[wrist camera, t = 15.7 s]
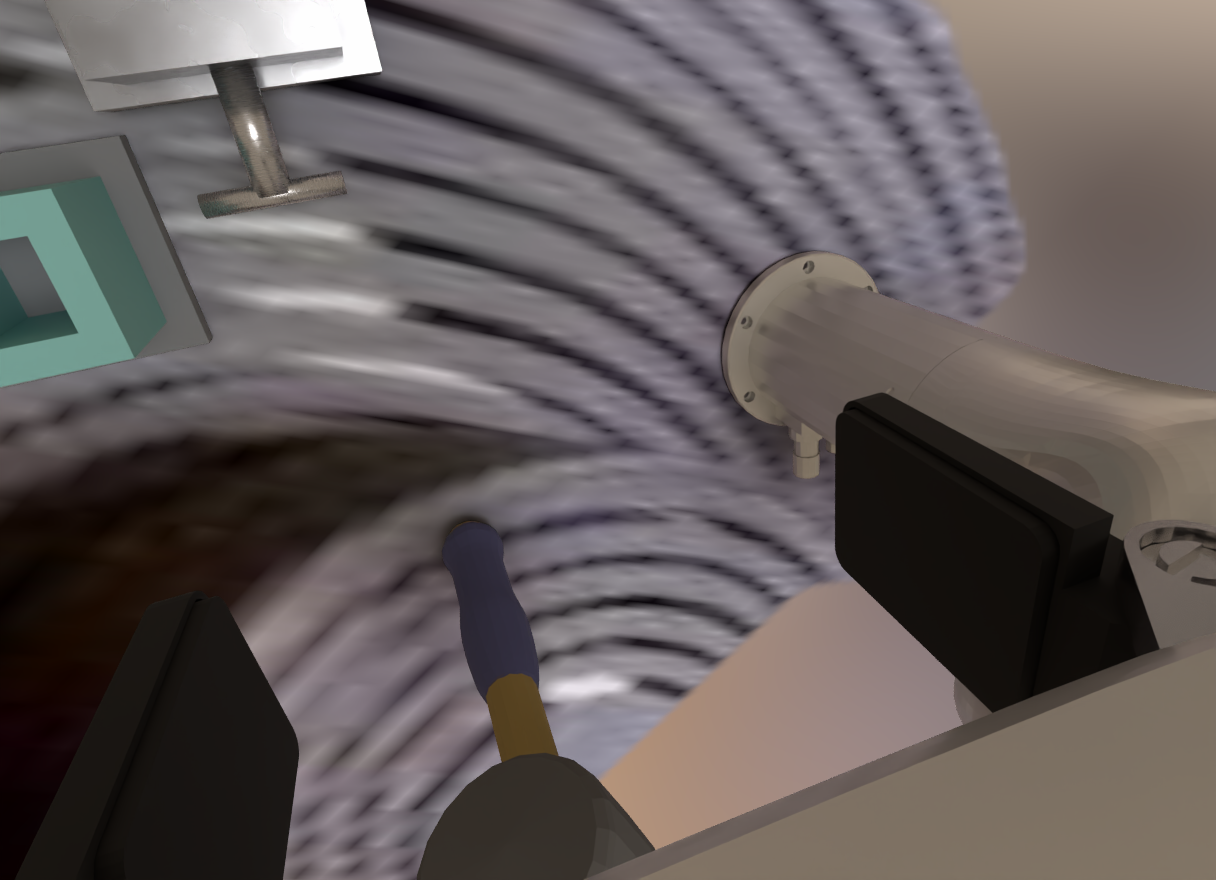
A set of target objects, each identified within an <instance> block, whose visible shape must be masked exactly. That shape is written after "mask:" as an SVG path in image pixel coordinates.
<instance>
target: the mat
mask: <svg viewBox="0 0 1216 880" xmlns="http://www.w3.org/2000/svg"><path fill="white" fill-rule="evenodd" d="M98 176H100V177H101V179H102V181H103V184H104V186H105V188H106V190H107V192H108V194H109V197H110V199H111V201H112V203H113V205H114V208H115V210H116V212H117V214H118V216H119V218H120V221H121V223H122V225H123V227H124V229H125V231H126V234H127V236H128V238H129V240H130V242H131V245H132V247H133V249H134V251H135V253H136V255H137V258H138V260H139V262H140V264H141V266H142V269H143V271H144V273H145V275H146V277H147V279H148V282H149V284H150V286H151V288H152V290H153V292H154V295H155V297H156V299H157V301H158V303H159V306H160V308H161V310H162V312H163V314H164V316H165V319H166V321H167V322H166V323H165V324H164V326H163V327H162V328H161V329H160V330H159V331H158V332H157V334H156V335H155V336H154V337H153V338H152V339H151V340H150V341H149V343H148V344H147V345H146V346H145V347H144V348H143V349H142V351H141V352H140V353H139V354H138V355H137V356H136V357H135V358H133V359H138V358H143V357H147V356H152V355H156V354H161V353H166V352H170V351H175V350H179V349H184V348H189V347H193V346H198V345H202V344H207V343H210V341H211V340H212V338H213V337H212V334H211V332H210V330H209V328H208V325H207V323H206V321H205V318H204V316H203V314H202V311H201V309H200V307H199V304H198V302H197V300H196V298H195V295H194V293H193V291H192V288H191V286H190V284H189V281H188V279H187V277H186V274H185V272H184V270H183V268H182V265H181V263H180V261H179V258H178V256H177V254H176V251H175V249H174V247H173V244H172V242H171V240H170V238H169V235H168V233H167V231H166V228H165V226H164V224H163V221H162V219H161V217H160V214H159V212H158V210H157V208H156V205H155V203H154V201H153V198H152V196H151V194H150V191H149V189H148V187H147V184H146V182H145V180H144V178H143V175H142V173H141V171H140V168H139V166H138V164H137V161H136V159H135V157H134V154H133V152H132V150H131V148H130V145H129V143H128V141H127V138H126V136H125V135H122V136H114V137H108V138H101V139H94V140H87V141H81V142H74V143H67V144H60V145H54V146H47V147H40V148H33V149H27V150H20V151H13V152H6V153H0V192H3V191H9V190H15V189H22V188H28V187H35V186H41V185H47V184H54V183H60V182H66V181H73V180H79V179H85V178H92V177H98ZM0 268H1V269H2V271H3V273H4V275H5V276H6V278H7V280H8V282H9V284H10V285H11V287H12V289H13V291H14V293H15V294H16V296H17V298H18V300H19V302H20V303H21V305H22V307H23V309H24V310H25V312H26V314H27V316H28V318H29V317H34V316H39V315H44V314H49V313H54V312H59V311H64V310H66V308H65V306H64V304H63V303H62V301H61V299H60V297H59V295H58V293H57V291H56V289H55V287H54V285H53V284H52V282H51V280H50V278H49V276H48V274H47V272H46V270H45V268H44V267H43V265H42V263H41V261H40V259H39V257H38V255H37V253H36V251H35V250H34V248H33V246H32V244H31V242H30V240H29V238H28V236H24V237H18V238H12V239H6V240H1V241H0ZM133 359H129V360H133ZM129 360H124V361H129ZM124 361H119V362H115V363H120V362H124ZM115 363H110V364H115ZM110 364H105V365H101V366H106V365H110ZM101 366H96V367H92V368H97V367H101ZM92 368H87V369H82V370H78V371H83V370H88V369H92ZM78 371H73V372H68V373H64V374H59V375H54V376H50V377H45V378H40V379H36V380H31V381H26V382H22V383H17V384H13V385H8V386H3V387H0V388H5V387H9V386H14V385H19V384H23V383H28V382H32V381H37V380H42V379H46V378H51V377H55V376H60V375H65V374H69V373H74V372H78Z"/></svg>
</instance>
